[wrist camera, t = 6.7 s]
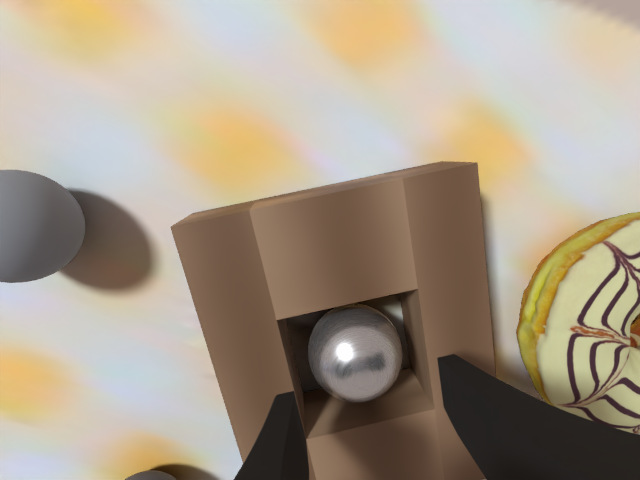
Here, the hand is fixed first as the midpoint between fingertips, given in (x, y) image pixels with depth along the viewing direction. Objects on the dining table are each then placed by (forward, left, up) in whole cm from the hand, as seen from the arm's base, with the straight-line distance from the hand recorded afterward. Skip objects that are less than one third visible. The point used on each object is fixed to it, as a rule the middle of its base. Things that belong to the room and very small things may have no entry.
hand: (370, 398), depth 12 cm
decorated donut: (+13, -2, -5) cm, 14 cm away
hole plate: (0, 0, -5) cm, 5 cm away
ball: (-11, +8, -3) cm, 14 cm away
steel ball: (0, 0, -3) cm, 3 cm away
